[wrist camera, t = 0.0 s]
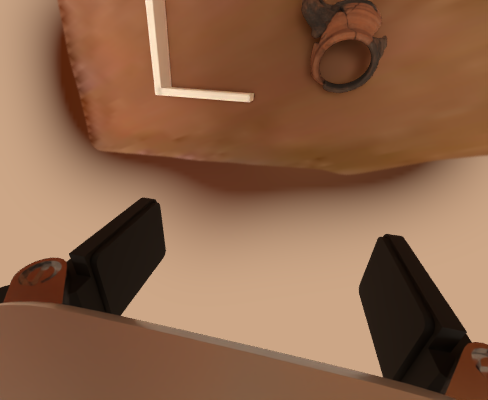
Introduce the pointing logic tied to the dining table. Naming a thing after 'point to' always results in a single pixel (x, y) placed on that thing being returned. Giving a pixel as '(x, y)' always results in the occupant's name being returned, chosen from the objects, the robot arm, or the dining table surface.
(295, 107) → the dining table surface
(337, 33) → the pottery mug
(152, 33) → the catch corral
